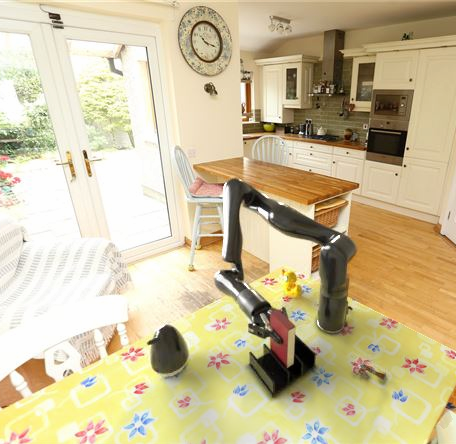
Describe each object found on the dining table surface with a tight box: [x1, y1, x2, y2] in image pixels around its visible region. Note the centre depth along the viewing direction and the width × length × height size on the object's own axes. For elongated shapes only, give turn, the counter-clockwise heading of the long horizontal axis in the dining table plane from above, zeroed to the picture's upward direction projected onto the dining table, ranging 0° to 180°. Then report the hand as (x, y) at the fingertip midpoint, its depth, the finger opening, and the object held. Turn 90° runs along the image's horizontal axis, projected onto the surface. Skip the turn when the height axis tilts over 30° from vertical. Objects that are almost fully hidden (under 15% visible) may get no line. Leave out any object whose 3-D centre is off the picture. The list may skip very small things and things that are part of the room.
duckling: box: [281, 269, 303, 299], centre depth 114 cm, size 11×5×10 cm, turn 39°
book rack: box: [248, 333, 317, 398], centre depth 84 cm, size 16×12×6 cm
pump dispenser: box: [146, 323, 190, 378], centre depth 81 cm, size 10×10×15 cm
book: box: [269, 308, 297, 368], centre depth 81 cm, size 3×8×14 cm, turn 37°
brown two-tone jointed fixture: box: [355, 362, 388, 383], centre depth 82 cm, size 2×8×4 cm, turn 81°
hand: (286, 339), depth 79 cm, fingers closed on book, 2 cm apart
